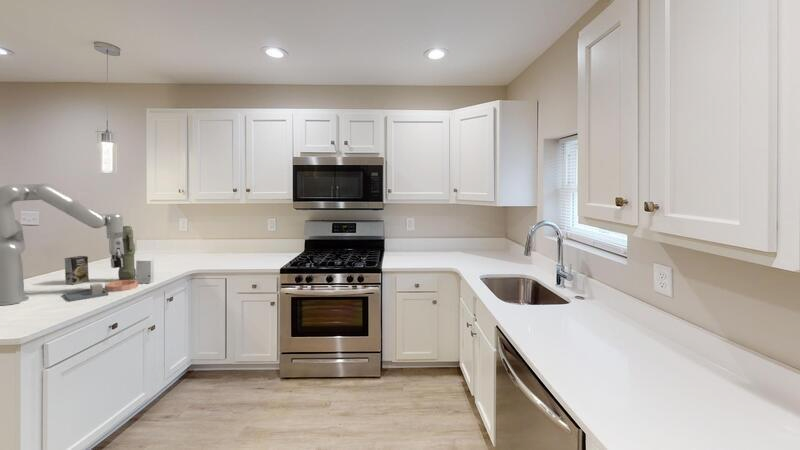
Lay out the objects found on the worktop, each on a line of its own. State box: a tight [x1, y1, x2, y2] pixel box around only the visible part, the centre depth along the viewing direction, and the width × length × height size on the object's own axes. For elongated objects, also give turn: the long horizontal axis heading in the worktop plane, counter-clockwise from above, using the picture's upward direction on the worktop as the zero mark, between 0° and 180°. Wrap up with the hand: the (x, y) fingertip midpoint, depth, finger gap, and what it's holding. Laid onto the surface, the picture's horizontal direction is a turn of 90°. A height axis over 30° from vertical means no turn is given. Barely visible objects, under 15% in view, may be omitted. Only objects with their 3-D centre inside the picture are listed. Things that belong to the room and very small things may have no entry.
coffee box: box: [64, 255, 90, 286], centre depth 223 cm, size 9×6×16 cm
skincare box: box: [135, 258, 155, 285], centre depth 228 cm, size 8×6×15 cm
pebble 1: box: [89, 283, 104, 295], centre depth 201 cm, size 4×4×5 cm
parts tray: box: [63, 288, 109, 302], centre depth 198 cm, size 16×16×2 cm
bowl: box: [104, 280, 139, 293], centre depth 213 cm, size 15×15×4 cm
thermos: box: [117, 225, 136, 281], centre depth 231 cm, size 9×12×35 cm
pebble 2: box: [110, 258, 123, 269], centre depth 209 cm, size 4×4×5 cm
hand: (116, 266), depth 209 cm, fingers closed on pebble 2, 4 cm apart
